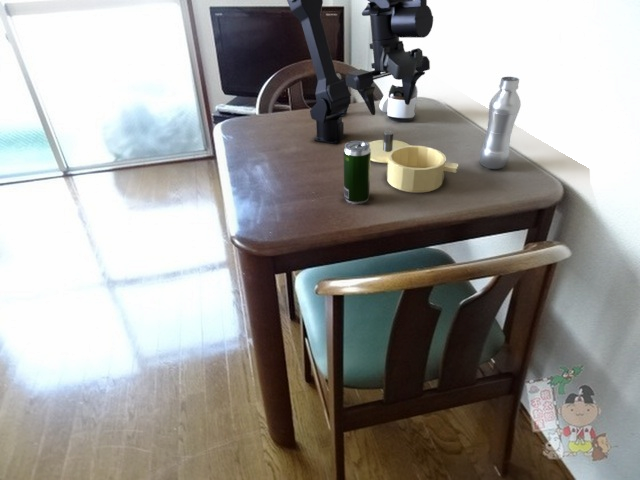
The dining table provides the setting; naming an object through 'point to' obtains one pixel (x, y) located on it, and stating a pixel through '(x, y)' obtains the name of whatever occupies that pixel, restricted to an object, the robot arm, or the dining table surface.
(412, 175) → the pot
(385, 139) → the pot lid
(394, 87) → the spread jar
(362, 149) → the beer can
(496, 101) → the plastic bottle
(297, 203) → the dining table surface
